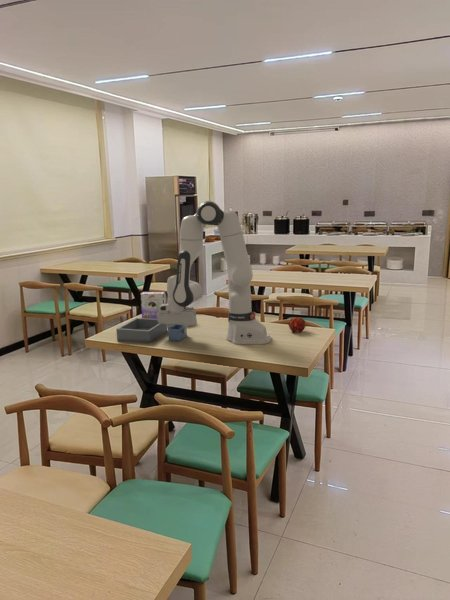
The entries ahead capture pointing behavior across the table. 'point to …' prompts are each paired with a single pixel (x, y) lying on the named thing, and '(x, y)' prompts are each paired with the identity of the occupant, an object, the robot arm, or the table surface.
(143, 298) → the candy box
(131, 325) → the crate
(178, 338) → the tote
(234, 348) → the table surface
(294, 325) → the dragon fruit
